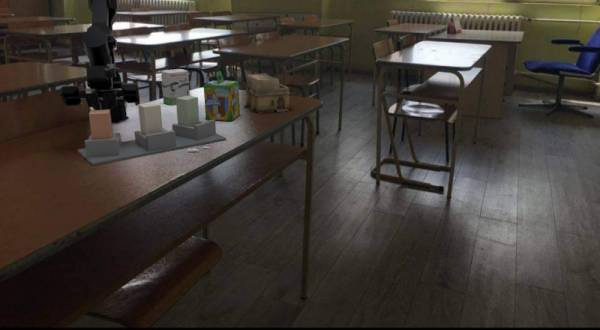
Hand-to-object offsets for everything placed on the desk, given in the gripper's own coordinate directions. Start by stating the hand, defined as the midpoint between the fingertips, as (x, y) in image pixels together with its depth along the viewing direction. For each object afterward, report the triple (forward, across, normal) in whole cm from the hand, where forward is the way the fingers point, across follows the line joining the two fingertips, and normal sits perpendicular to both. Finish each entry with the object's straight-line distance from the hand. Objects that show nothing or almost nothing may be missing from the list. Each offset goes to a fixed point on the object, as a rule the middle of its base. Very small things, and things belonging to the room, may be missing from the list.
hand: (101, 122), depth 127 cm
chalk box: (-14, +34, +25) cm, 45 cm away
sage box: (-1, +22, +12) cm, 25 cm away
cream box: (+3, +12, +8) cm, 14 cm away
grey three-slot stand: (+3, +12, +8) cm, 14 cm away
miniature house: (-20, +51, +31) cm, 63 cm away
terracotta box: (+7, 0, +4) cm, 8 cm away
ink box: (-32, +20, +43) cm, 57 cm away
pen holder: (-26, +36, +37) cm, 58 cm away
